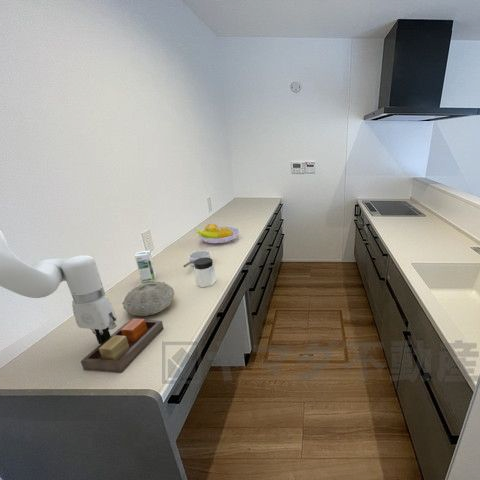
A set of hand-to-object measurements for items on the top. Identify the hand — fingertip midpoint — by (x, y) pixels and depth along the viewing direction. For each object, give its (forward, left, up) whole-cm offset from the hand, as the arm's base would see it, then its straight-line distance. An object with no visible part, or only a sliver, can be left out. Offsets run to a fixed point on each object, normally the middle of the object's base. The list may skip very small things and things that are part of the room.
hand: (105, 341), depth 88 cm
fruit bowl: (-9, +101, -2) cm, 101 cm away
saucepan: (-2, +60, -2) cm, 60 cm away
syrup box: (-18, +44, -2) cm, 47 cm away
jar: (+12, +44, -2) cm, 45 cm away
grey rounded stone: (0, +22, -2) cm, 22 cm away
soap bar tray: (+8, 0, -2) cm, 8 cm away
